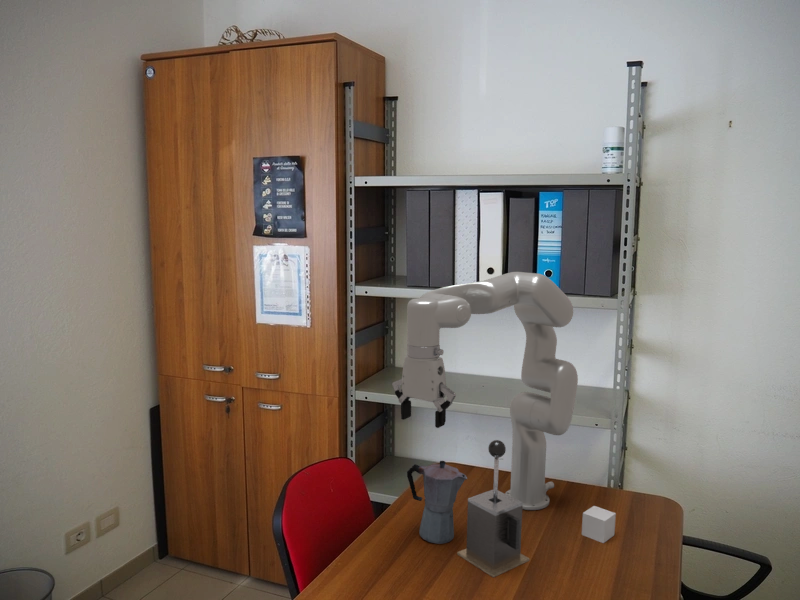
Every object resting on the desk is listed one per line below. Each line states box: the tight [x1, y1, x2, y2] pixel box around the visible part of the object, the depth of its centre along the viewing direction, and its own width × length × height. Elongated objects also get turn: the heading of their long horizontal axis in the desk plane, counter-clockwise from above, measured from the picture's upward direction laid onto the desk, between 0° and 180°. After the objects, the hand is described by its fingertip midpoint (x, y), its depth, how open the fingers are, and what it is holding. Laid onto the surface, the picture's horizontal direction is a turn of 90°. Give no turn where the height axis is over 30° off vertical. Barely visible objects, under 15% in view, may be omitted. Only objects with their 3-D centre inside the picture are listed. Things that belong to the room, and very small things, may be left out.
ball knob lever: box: [487, 439, 507, 503], centre depth 146 cm, size 6×6×17 cm
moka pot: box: [406, 460, 468, 545], centre depth 158 cm, size 10×15×20 cm, turn 78°
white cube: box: [581, 505, 617, 544], centre depth 160 cm, size 6×6×6 cm
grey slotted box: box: [456, 489, 530, 578], centre depth 148 cm, size 12×13×14 cm
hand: (422, 422), depth 148 cm, fingers open, 9 cm apart
